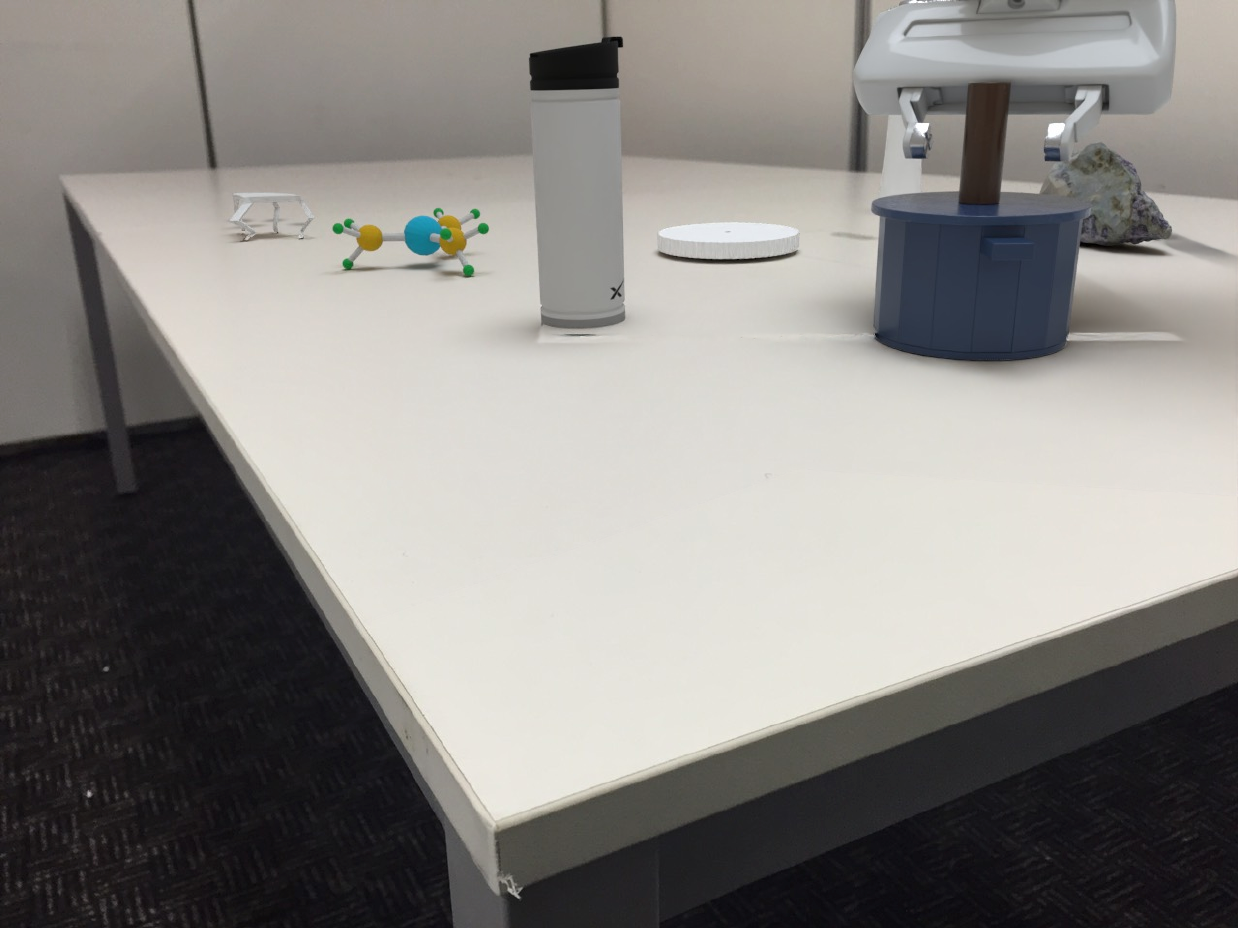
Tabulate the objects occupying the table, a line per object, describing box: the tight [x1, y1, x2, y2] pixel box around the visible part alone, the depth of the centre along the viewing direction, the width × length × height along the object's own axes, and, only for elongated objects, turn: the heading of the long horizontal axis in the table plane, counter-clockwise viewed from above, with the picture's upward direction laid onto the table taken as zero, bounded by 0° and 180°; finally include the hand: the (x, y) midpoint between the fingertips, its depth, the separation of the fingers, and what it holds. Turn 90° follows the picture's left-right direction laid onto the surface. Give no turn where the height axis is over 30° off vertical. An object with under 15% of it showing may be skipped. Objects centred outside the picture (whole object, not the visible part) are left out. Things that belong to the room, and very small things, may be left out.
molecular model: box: [332, 207, 490, 277], centre depth 105 cm, size 16×5×15 cm
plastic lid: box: [656, 221, 800, 260], centre depth 107 cm, size 14×14×2 cm
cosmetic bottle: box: [877, 115, 923, 199], centre depth 131 cm, size 6×6×22 cm
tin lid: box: [870, 82, 1092, 226], centre depth 70 cm, size 14×14×9 cm
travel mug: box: [528, 36, 626, 336], centre depth 76 cm, size 6×7×20 cm
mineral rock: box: [1038, 141, 1173, 247], centre depth 107 cm, size 13×11×10 cm
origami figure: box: [229, 192, 315, 239], centre depth 127 cm, size 12×8×5 cm
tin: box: [872, 216, 1083, 361], centre depth 72 cm, size 13×18×8 cm
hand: (983, 154), depth 69 cm, fingers open, 7 cm apart
